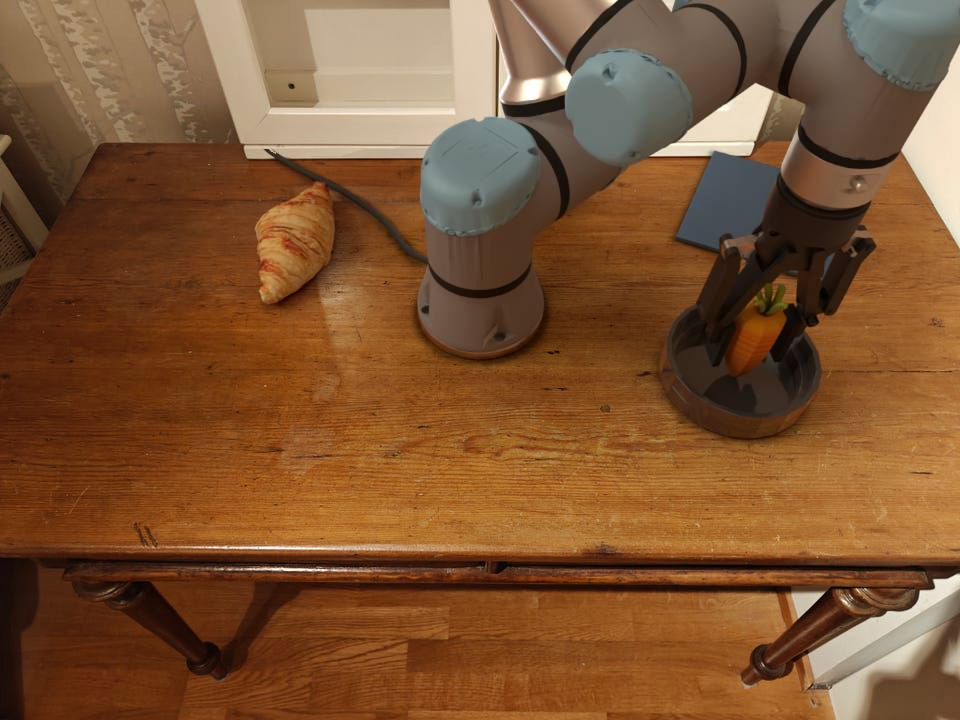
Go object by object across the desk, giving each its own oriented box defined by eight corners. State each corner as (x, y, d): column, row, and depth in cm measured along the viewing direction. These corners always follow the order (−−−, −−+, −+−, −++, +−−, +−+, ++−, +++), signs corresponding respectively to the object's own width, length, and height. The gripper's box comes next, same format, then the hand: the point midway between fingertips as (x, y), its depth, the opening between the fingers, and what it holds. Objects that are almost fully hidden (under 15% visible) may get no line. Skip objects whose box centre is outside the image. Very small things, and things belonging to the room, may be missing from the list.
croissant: (299, 331, 88) (316, 298, 82) (220, 298, 85) (232, 262, 79) (346, 215, 100) (364, 179, 94) (278, 183, 97) (292, 143, 91)
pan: (640, 406, 77) (647, 383, 73) (681, 305, 85) (689, 280, 82) (790, 462, 72) (806, 440, 69) (817, 350, 81) (832, 325, 78)
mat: (675, 239, 92) (676, 236, 92) (713, 153, 103) (714, 150, 102) (831, 287, 87) (833, 283, 87) (854, 191, 98) (856, 187, 97)
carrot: (755, 397, 77) (805, 307, 65) (709, 390, 77) (750, 300, 65) (754, 361, 80) (802, 269, 68) (710, 354, 80) (749, 262, 68)
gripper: (724, 222, 54) (663, 389, 73) (961, 207, 55) (842, 376, 74) (698, 161, 59) (647, 333, 77) (918, 148, 60) (816, 322, 78)
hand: (742, 354), depth 75 cm, fingers open, 6 cm apart
